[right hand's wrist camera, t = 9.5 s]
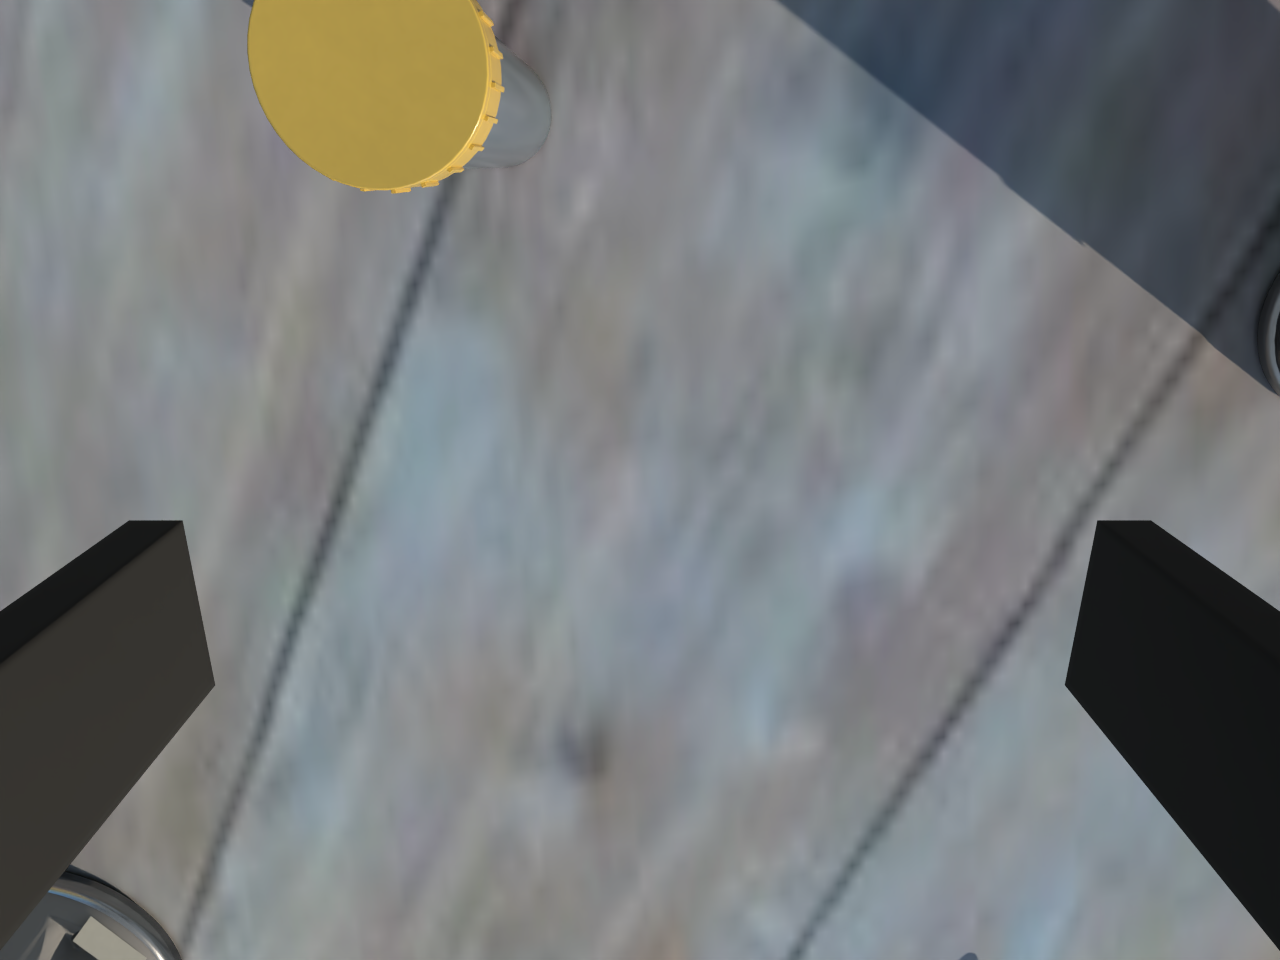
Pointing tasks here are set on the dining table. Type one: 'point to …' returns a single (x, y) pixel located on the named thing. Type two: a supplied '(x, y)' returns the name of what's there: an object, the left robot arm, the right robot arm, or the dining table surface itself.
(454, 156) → the lid
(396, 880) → the dining table surface
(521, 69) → the clear plastic cylinder
